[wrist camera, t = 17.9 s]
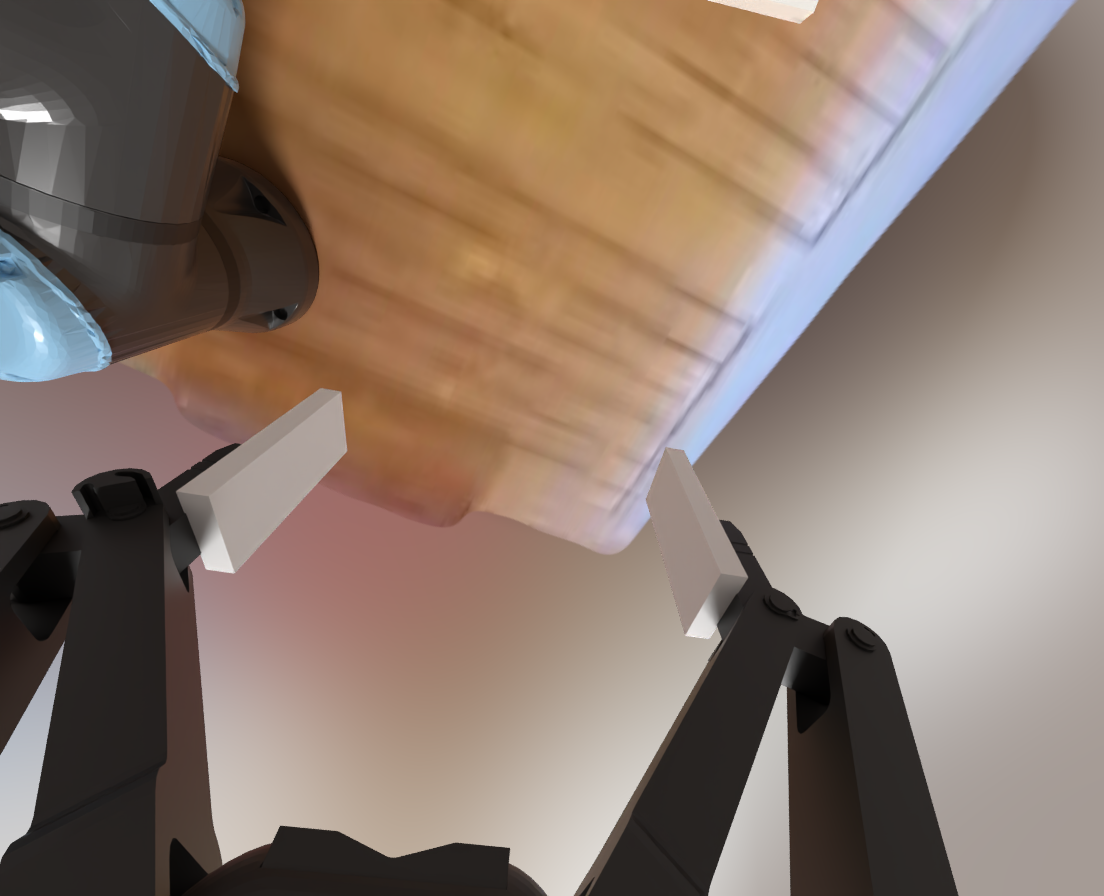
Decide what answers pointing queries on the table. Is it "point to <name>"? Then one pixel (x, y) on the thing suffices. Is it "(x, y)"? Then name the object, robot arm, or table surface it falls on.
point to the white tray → (776, 8)
